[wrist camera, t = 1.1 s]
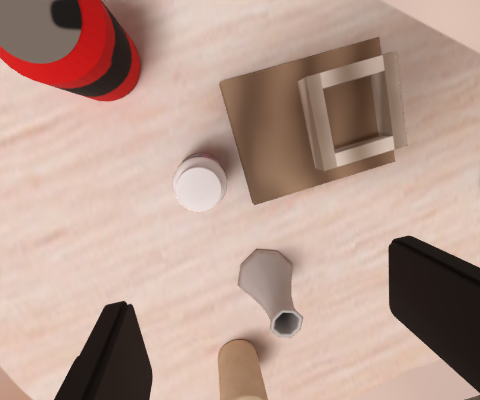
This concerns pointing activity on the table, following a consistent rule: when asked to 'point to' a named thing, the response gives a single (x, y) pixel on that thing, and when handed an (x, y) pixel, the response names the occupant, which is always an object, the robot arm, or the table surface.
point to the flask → (271, 289)
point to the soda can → (69, 46)
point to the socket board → (316, 119)
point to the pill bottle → (199, 182)
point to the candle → (240, 372)
